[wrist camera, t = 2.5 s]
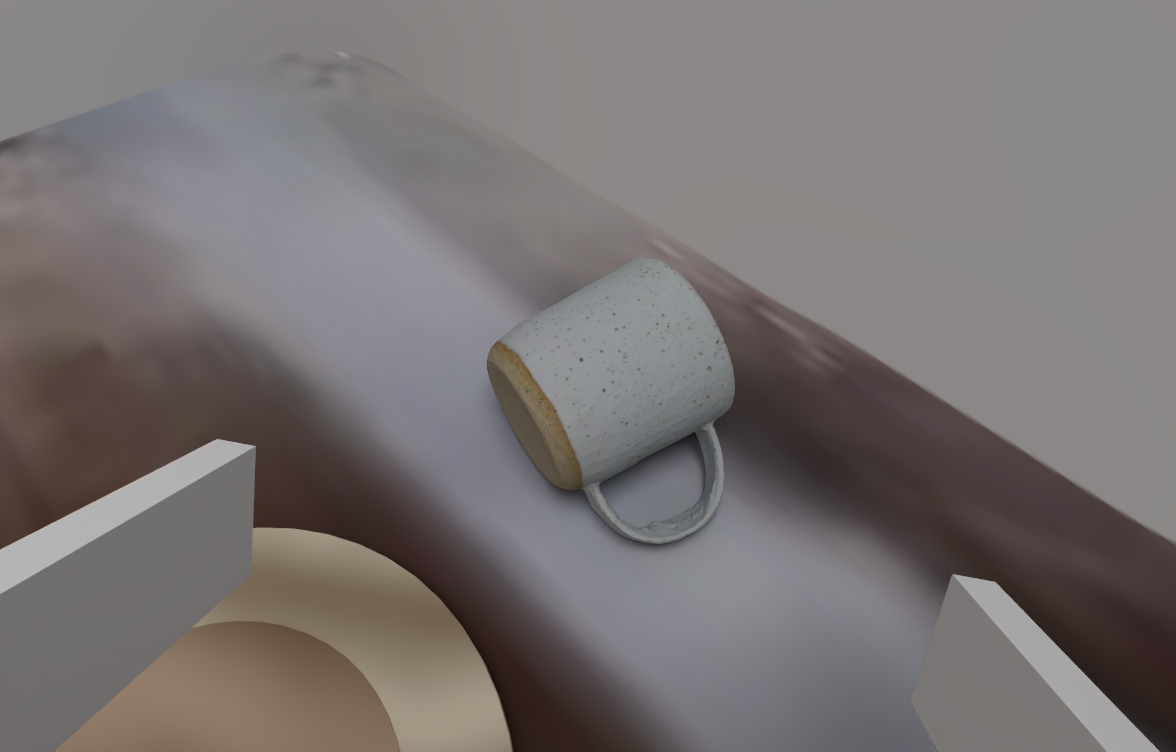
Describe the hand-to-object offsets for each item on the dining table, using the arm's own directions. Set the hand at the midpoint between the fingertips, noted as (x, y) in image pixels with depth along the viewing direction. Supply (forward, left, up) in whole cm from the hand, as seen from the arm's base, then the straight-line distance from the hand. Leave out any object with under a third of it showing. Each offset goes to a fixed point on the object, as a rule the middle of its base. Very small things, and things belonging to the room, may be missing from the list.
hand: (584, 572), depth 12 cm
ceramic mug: (+9, -4, -15) cm, 18 cm away
